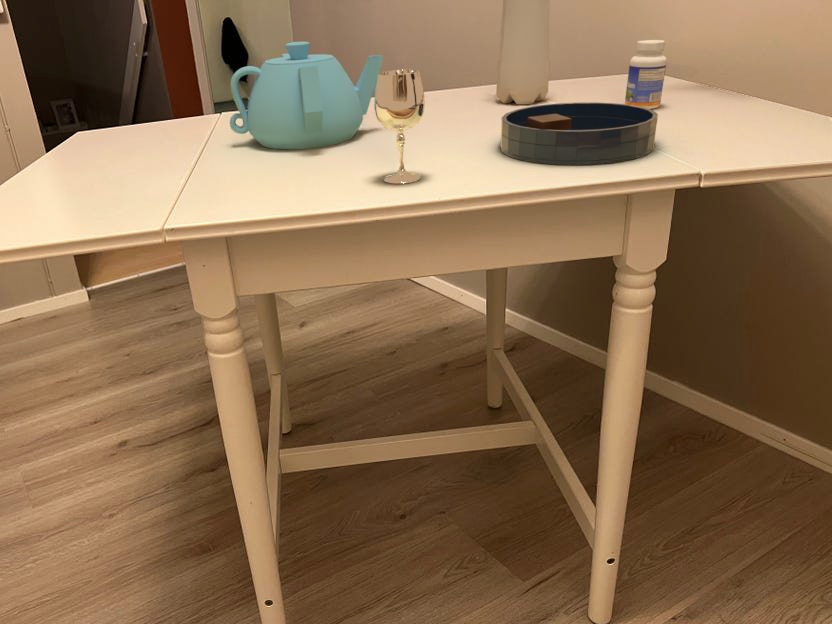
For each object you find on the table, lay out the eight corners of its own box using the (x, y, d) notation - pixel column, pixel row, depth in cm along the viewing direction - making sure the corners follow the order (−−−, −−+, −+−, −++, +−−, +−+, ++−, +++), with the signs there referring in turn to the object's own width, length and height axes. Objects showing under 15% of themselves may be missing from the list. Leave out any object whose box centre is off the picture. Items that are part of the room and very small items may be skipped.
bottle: (527, 107, 120) (538, -103, 106) (485, 103, 126) (489, -96, 112) (558, 98, 125) (572, -102, 111) (515, 95, 131) (523, -96, 117)
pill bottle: (622, 104, 117) (629, 40, 112) (657, 103, 115) (666, 38, 111) (626, 110, 112) (634, 43, 107) (663, 109, 111) (672, 41, 106)
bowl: (635, 128, 100) (638, 99, 98) (670, 161, 83) (675, 127, 82) (497, 134, 103) (498, 106, 101) (505, 167, 86) (506, 134, 84)
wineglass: (433, 180, 83) (431, 72, 78) (387, 187, 82) (382, 77, 76) (415, 170, 88) (413, 67, 82) (372, 176, 87) (366, 72, 81)
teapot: (315, 156, 98) (305, 48, 92) (217, 147, 109) (202, 50, 102) (389, 129, 112) (385, 34, 105) (297, 123, 122) (288, 36, 116)
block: (553, 145, 93) (556, 113, 91) (569, 151, 89) (571, 118, 87) (525, 148, 92) (527, 117, 90) (540, 155, 89) (542, 122, 87)
